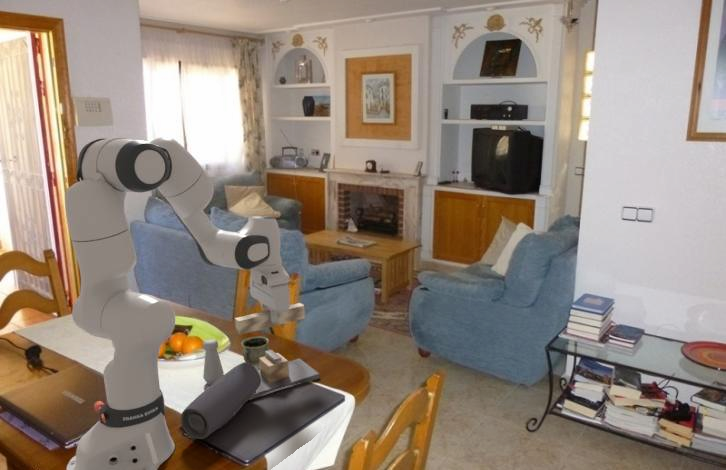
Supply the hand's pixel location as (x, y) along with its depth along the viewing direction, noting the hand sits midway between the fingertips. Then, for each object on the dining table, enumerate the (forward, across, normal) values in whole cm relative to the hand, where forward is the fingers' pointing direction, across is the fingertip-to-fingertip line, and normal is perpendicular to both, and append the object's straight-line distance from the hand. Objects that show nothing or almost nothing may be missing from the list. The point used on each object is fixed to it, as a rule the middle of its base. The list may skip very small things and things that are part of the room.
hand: (270, 318), depth 155 cm
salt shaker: (+19, -10, -15) cm, 26 cm away
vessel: (+19, -16, +1) cm, 25 cm away
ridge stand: (+19, 0, 0) cm, 19 cm away
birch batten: (+2, 0, 0) cm, 2 cm away
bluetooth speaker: (+19, +12, -19) cm, 29 cm away
